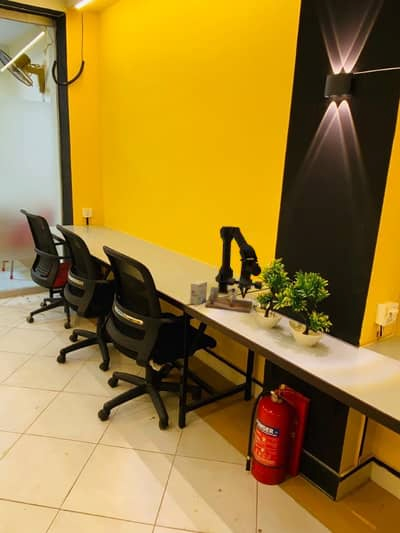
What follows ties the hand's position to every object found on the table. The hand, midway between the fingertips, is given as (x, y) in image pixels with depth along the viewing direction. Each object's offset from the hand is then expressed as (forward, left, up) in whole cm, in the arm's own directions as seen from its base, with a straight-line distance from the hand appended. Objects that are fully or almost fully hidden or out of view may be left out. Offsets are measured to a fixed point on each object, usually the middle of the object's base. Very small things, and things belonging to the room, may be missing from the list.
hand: (243, 298), depth 215 cm
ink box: (+5, -24, -4) cm, 25 cm away
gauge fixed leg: (+3, -16, -2) cm, 16 cm away
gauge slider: (+3, -6, -2) cm, 7 cm away
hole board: (+4, -7, -4) cm, 9 cm away
